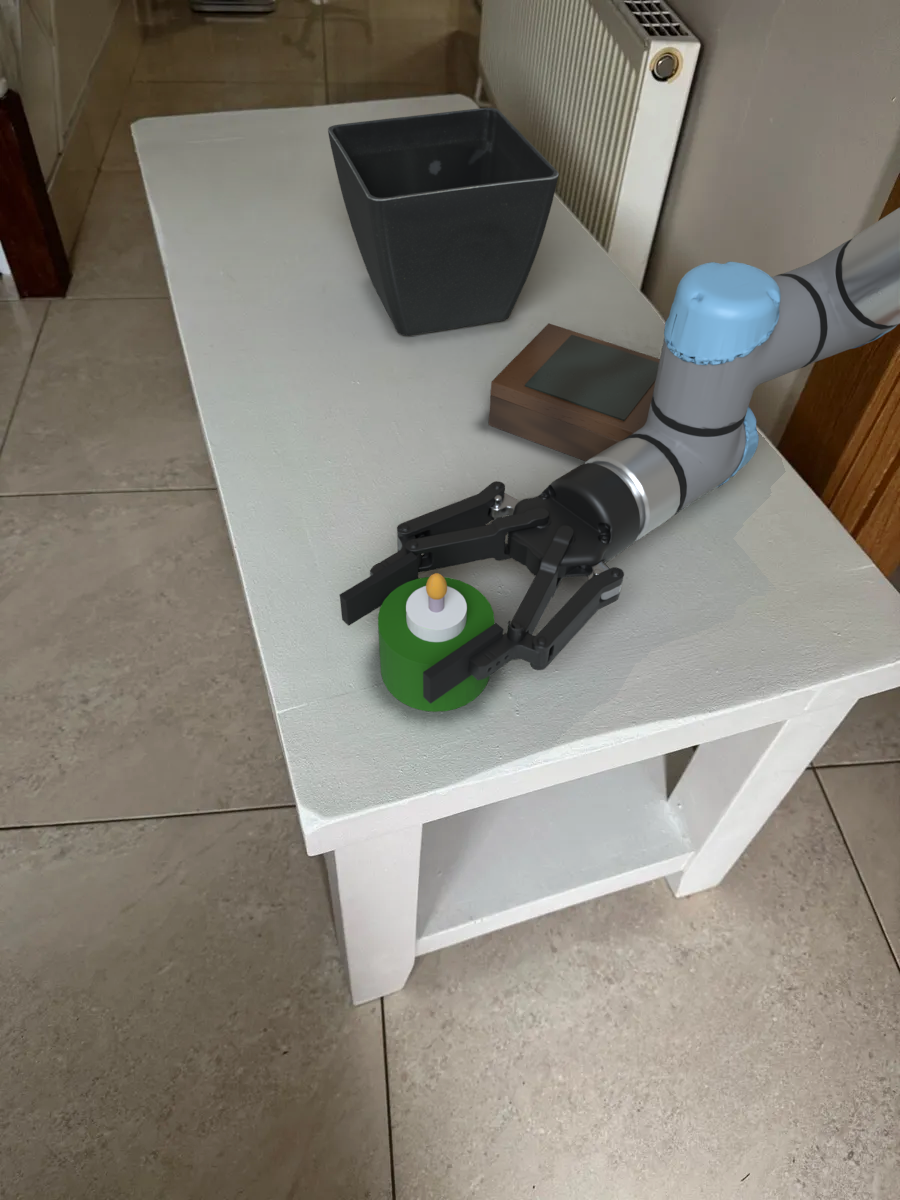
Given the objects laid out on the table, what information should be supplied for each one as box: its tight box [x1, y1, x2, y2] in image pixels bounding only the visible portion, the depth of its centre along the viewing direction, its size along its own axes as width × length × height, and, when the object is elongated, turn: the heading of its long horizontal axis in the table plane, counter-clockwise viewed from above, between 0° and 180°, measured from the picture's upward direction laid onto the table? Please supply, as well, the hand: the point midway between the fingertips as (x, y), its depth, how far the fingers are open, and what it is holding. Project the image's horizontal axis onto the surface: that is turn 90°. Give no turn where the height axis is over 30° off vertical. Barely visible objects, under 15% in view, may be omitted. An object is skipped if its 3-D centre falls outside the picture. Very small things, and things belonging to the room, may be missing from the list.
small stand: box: [488, 322, 660, 462], centre depth 89 cm, size 16×12×5 cm
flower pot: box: [327, 107, 560, 336], centre depth 99 cm, size 19×19×17 cm
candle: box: [377, 572, 496, 713], centre depth 66 cm, size 8×8×10 cm
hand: (384, 647), depth 63 cm, fingers closed on candle, 8 cm apart
